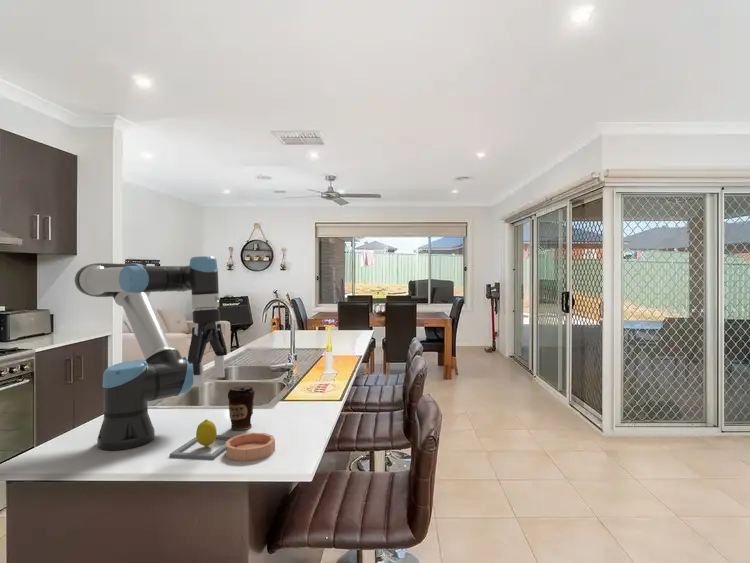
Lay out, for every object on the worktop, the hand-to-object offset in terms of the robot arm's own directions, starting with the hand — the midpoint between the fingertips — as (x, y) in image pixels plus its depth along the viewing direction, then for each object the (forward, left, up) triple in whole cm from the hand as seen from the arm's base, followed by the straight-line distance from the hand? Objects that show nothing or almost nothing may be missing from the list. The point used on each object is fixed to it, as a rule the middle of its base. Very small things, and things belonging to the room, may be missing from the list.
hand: (210, 381), depth 136 cm
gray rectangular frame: (0, -3, -18) cm, 18 cm away
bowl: (+14, -4, -18) cm, 23 cm away
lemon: (0, -3, -19) cm, 19 cm away
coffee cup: (+2, +15, -19) cm, 24 cm away
